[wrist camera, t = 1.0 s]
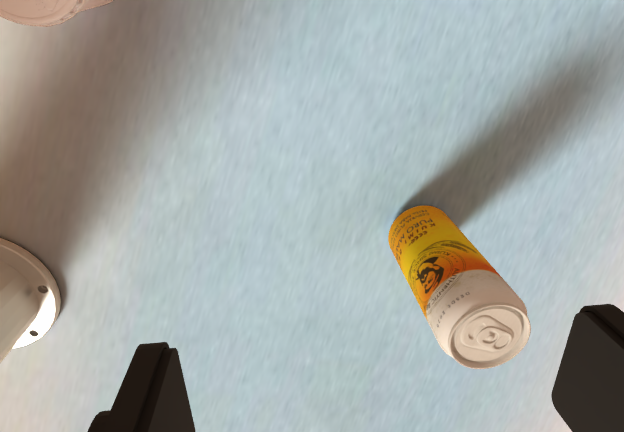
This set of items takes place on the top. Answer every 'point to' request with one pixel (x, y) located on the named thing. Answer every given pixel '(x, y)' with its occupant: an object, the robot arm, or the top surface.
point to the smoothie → (45, 10)
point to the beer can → (458, 290)
